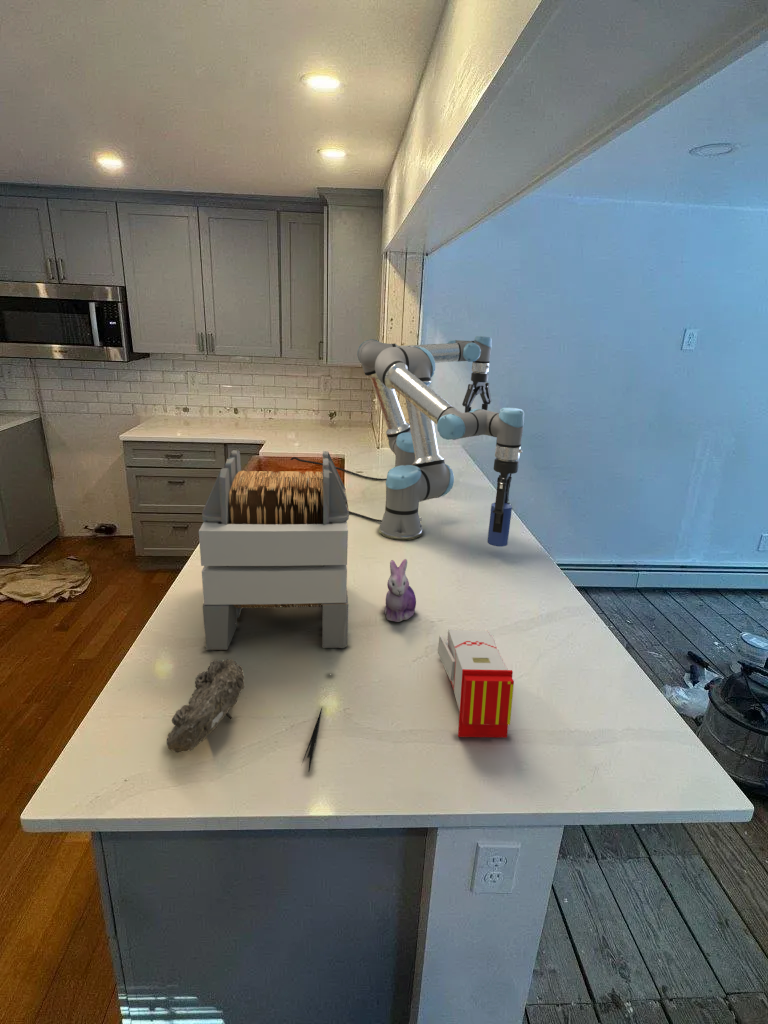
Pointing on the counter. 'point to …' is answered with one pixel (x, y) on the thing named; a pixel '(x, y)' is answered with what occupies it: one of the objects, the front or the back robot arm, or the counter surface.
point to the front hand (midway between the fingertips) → (498, 528)
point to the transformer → (274, 548)
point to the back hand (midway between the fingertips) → (475, 419)
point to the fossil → (206, 705)
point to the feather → (313, 740)
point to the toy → (478, 682)
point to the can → (502, 537)
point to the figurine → (399, 594)
